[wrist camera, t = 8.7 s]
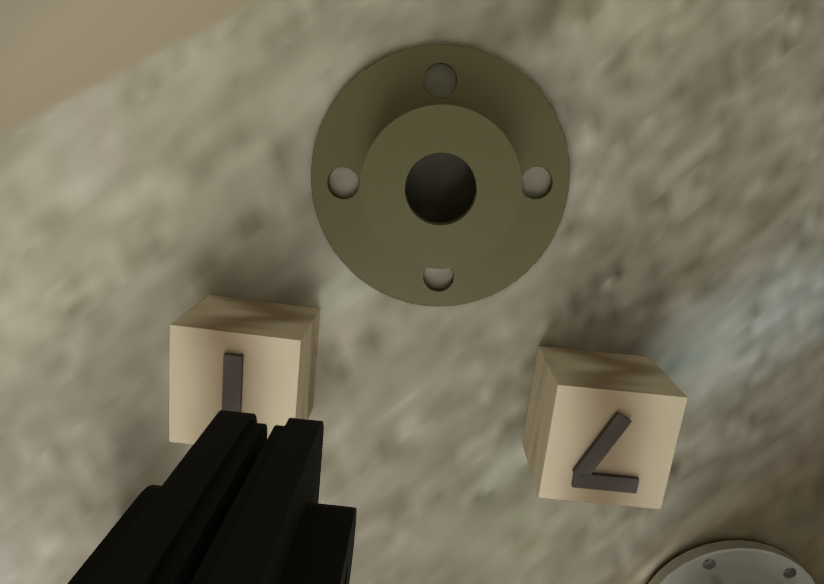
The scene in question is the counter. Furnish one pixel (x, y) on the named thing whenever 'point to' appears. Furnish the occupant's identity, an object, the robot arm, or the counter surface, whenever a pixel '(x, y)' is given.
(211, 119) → the counter surface
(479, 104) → the flange
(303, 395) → the numeral block one
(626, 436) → the numeral block seven
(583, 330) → the counter surface
